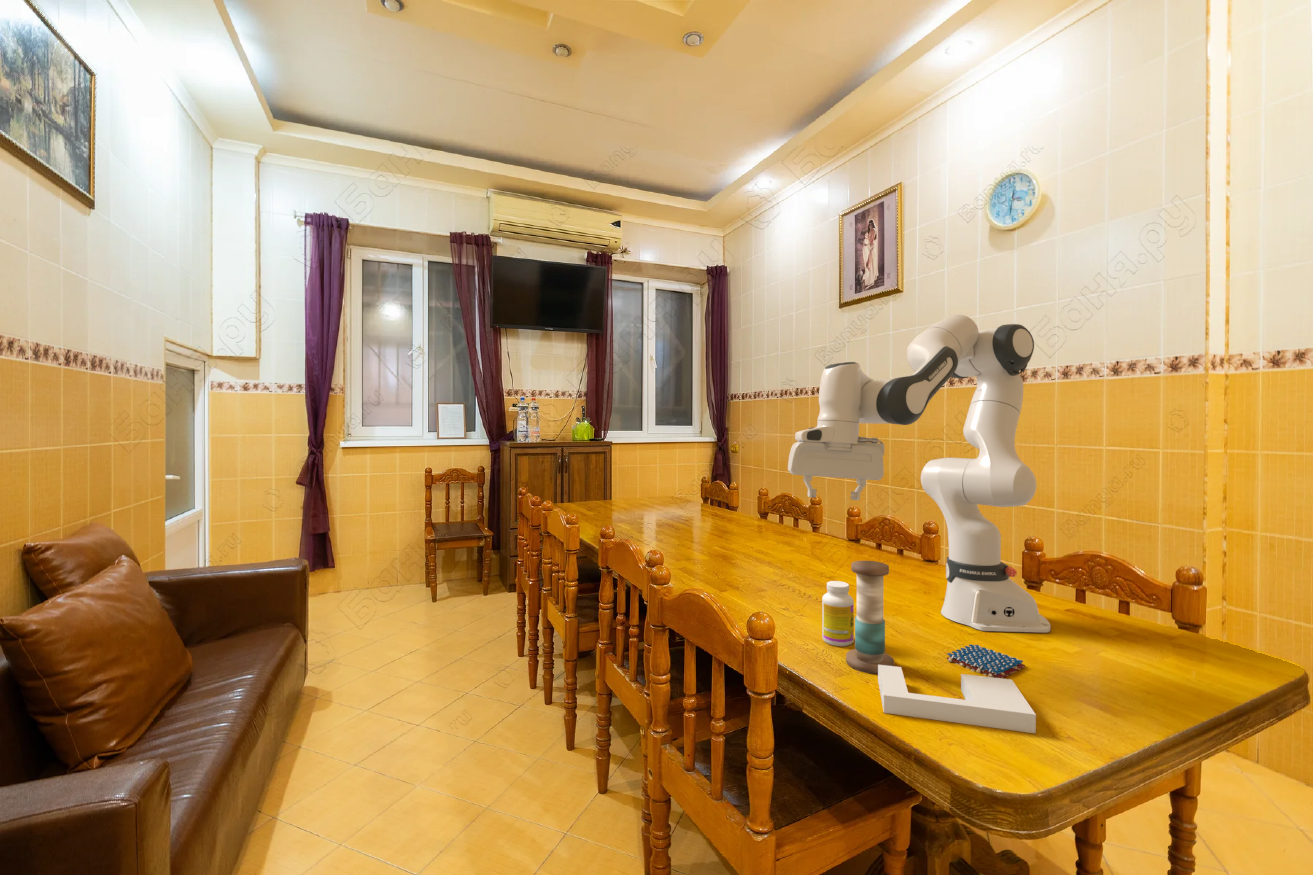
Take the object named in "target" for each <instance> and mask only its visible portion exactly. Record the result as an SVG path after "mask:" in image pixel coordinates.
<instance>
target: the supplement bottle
mask: <svg viewBox="0 0 1313 875" xmlns="http://www.w3.org/2000/svg"><path fill="white" fill-rule="evenodd" d="M826 591H827V592H826V593H825V594H823V595H822V599H821V605H822V607H821V609H822V610H821V611H822V612H821V614H822V615H821V619H822V620H821V621H822V624H821V625H822V626H821V627H822V629H821V632H822V634H821V635H822V636H821V638H822V640H823V641H824V642H825V643H826V644H829V645H830V646H836V647H848V646H851V645H852V644H853V643H854V642H855V617H854V613H855V612H854V611H855V610H854V604H855V602H854V599H853V597H852V596H851V595H850V594H849V591H850V584H849V583H847V582H845V581H840V580H830V581H827V582H826Z"/></svg>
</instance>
